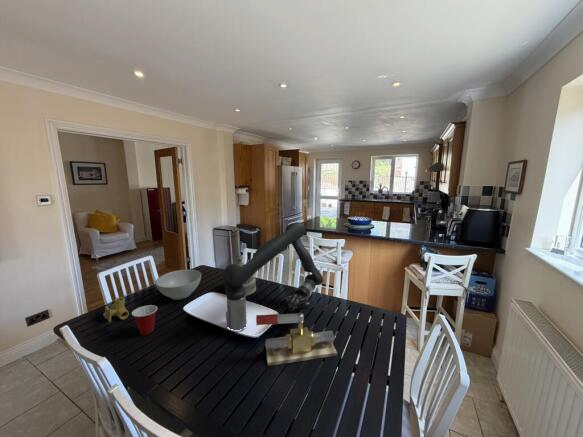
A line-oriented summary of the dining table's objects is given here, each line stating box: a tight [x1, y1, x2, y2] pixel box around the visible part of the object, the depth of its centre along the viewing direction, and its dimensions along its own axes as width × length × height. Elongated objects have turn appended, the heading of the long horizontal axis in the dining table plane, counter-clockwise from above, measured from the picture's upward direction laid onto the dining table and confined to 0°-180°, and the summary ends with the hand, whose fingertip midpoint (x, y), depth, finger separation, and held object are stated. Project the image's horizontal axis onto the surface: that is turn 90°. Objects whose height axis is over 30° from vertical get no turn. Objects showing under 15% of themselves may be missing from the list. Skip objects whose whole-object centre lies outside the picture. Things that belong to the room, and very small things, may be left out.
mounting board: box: [265, 342, 338, 367], centre depth 104 cm, size 30×12×3 cm, turn 101°
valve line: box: [265, 322, 335, 354], centre depth 102 cm, size 30×7×13 cm, turn 101°
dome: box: [236, 254, 257, 297], centre depth 156 cm, size 20×25×20 cm
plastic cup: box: [131, 304, 158, 336], centre depth 115 cm, size 11×11×12 cm
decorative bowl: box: [154, 269, 202, 301], centre depth 151 cm, size 27×27×12 cm
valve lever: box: [255, 312, 305, 326], centre depth 100 cm, size 20×3×3 cm, turn 94°
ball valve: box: [102, 296, 130, 323], centre depth 128 cm, size 13×10×10 cm
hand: (290, 309), depth 108 cm, fingers closed
